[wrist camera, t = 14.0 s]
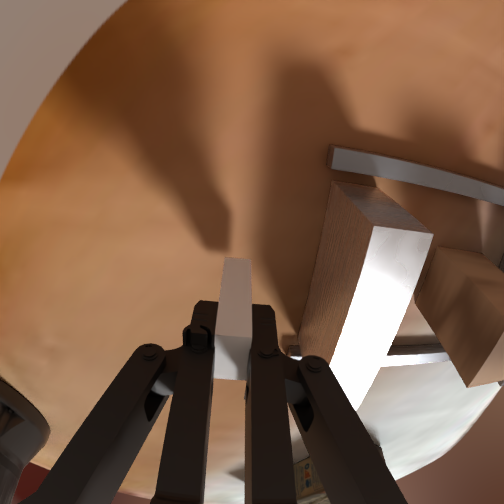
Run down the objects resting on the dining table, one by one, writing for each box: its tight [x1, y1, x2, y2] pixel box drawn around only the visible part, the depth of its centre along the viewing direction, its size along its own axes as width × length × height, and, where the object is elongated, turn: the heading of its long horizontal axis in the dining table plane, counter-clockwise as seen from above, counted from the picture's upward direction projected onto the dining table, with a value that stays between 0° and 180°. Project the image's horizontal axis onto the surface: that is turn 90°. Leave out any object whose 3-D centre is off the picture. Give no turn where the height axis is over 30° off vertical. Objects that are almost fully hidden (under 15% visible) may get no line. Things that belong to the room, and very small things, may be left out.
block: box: [415, 247, 504, 388], centre depth 17 cm, size 5×5×9 cm
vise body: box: [287, 144, 504, 386], centre depth 18 cm, size 20×16×7 cm
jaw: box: [298, 180, 434, 410], centre depth 18 cm, size 3×12×7 cm, turn 174°
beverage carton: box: [293, 445, 386, 504], centre depth 33 cm, size 8×19×7 cm, turn 141°
